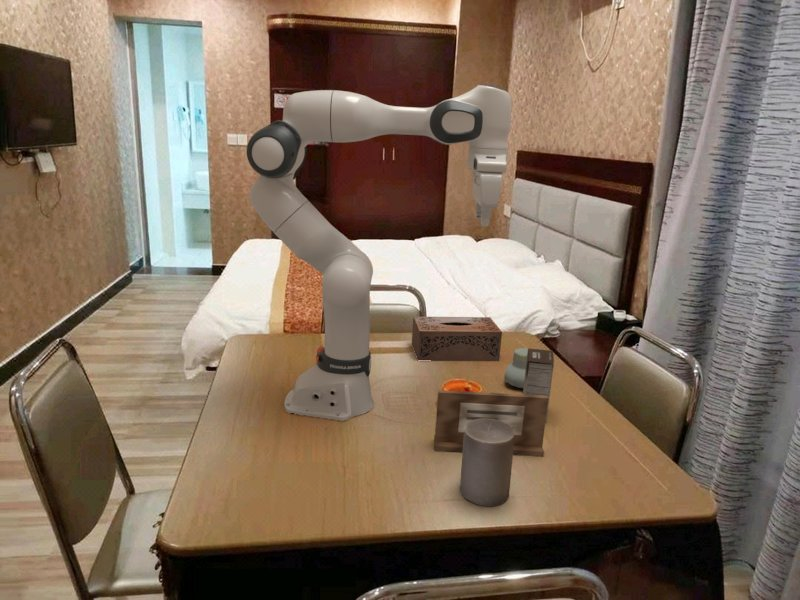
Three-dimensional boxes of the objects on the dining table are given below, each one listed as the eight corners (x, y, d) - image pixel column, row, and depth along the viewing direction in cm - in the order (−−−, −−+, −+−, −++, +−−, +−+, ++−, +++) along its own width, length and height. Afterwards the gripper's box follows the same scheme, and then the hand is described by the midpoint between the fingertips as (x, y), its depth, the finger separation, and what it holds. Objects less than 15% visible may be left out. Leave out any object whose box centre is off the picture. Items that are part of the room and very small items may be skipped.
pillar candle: (503, 478, 119) (509, 412, 115) (513, 507, 110) (520, 436, 106) (456, 477, 119) (461, 411, 115) (462, 507, 110) (467, 435, 106)
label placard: (434, 450, 128) (438, 396, 125) (434, 439, 133) (437, 386, 130) (543, 456, 128) (550, 401, 125) (538, 444, 133) (545, 391, 129)
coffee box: (520, 404, 153) (527, 347, 148) (545, 407, 152) (553, 350, 147) (520, 420, 144) (527, 360, 140) (547, 423, 143) (555, 363, 139)
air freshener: (511, 374, 172) (515, 343, 169) (539, 380, 168) (543, 348, 166) (501, 388, 162) (505, 354, 159) (530, 394, 159) (535, 360, 156)
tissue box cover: (487, 345, 196) (490, 317, 193) (499, 362, 182) (502, 331, 179) (411, 345, 193) (413, 316, 190) (417, 361, 179) (419, 331, 176)
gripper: (468, 159, 141) (464, 215, 145) (478, 163, 121) (472, 229, 125) (494, 160, 141) (489, 217, 145) (508, 164, 121) (502, 230, 125)
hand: (481, 222), depth 135 cm, fingers open, 8 cm apart
